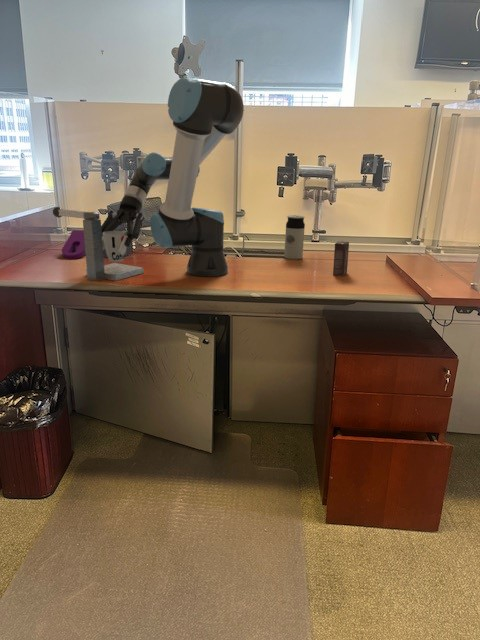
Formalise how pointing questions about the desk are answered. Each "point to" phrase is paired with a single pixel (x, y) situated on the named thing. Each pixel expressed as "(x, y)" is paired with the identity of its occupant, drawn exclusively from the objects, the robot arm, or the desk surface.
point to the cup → (114, 245)
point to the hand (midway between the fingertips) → (110, 252)
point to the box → (341, 258)
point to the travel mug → (294, 237)
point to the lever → (75, 214)
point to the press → (95, 256)
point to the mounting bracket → (74, 245)
